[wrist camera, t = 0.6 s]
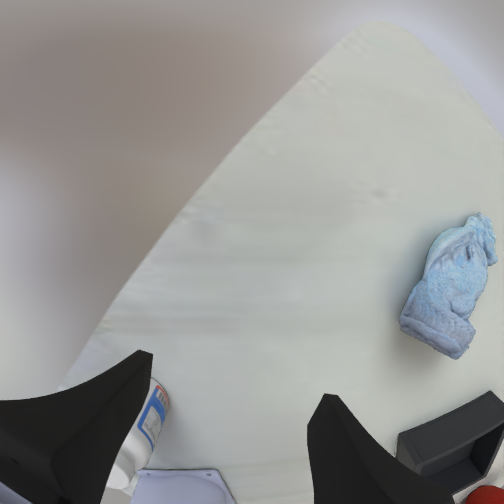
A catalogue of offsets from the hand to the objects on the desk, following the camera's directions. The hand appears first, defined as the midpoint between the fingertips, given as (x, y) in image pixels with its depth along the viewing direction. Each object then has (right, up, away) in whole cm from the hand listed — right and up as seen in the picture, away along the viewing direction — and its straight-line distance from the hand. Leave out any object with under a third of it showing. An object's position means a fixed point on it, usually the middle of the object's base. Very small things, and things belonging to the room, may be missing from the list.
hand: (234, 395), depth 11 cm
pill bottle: (-9, -7, +12) cm, 17 cm away
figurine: (+16, +4, +10) cm, 19 cm away
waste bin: (+23, -17, +13) cm, 32 cm away
